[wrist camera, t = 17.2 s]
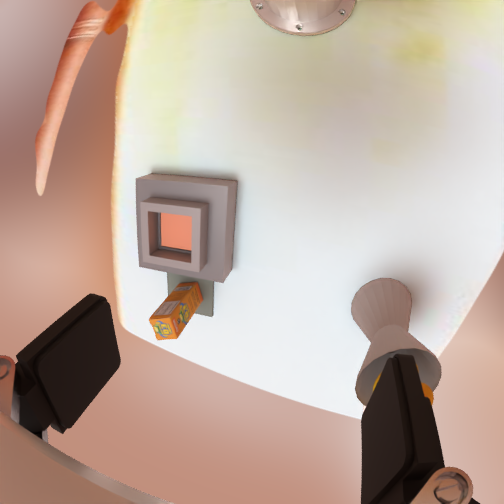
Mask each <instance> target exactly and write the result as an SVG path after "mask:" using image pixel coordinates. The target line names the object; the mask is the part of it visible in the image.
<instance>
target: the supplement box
mask: <svg viewBox="0 0 504 504" xmlns="http://www.w3.org/2000/svg"><path fill="white" fill-rule="evenodd" d="M202 301H203V298H202V294H201V291H200V288H199V285H198V282H190V283H181V284H178V285H177V286H176V288H175V289H174V290H173V291H172V292H171V294H170V295H169V296H168V297H167V298H166V299H165V301H164V302H163V303H162V304H161V305H160V306H159V308H158V309H157V310H156V311H155V312H154V313H153V315H152V316H151V317H150V319H149V321H150V323H151V324H152V327H153V329H154V332H155V334H156V335H155V336H156V339H157V340H164V339H177V338H178V337H179V335H180V334H181V332H182V331H183V329H184V328H185V326H186V325H187V323H188V322H189V320H190V319H191V317H192V316H193V314H194V313H195V311H196V310H197V308H198V307H199V305H200V304H201V302H202Z"/></svg>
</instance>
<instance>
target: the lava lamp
mask: <svg viewBox="0 0 504 504" xmlns="http://www.w3.org/2000/svg"><path fill="white" fill-rule="evenodd" d="M411 305H412V300H411V295H410V292H409V291H408V289H407V287H406V286H405V285H403V284H402V283H401V282H399V281H397V280H394V279H391V278H380V279H376V280H373V281H370V282H369V283H367V284H365V285H364V286H362V287H361V288H360V289H359V291H358V292H357V293H356V294H355V296H354V299H353V301H352V306H351V313H352V316H353V319H354V321H355V322H356V323H357V325H358V326H359V327H360V329H361V330H362V331H363V333H364V334H365V335H366V337H367V338H368V339H369V341H370V342H371V345H370V347H369V350H368V352H367V355H366V357H365V360H364V362H363V364H362V367H361V369H360V371H359V374H358V376H357V381H356V387H355V391H356V394H357V398H358V399H359V400H360V401H361V403H362V404H363V405H364V406H367V404H368V402H369V400H370V397H371V395H372V393H373V391H374V389H375V387H376V384H377V382H378V380H379V378H380V375H381V373H382V371H383V368H384V366H385V364H386V361H387V359H388V358H389V357H390V358H393V356H394V355H395V354H407V355H413V356H414V359H415V362H416V366H417V369H418V373H419V377H420V380H421V384H422V388H423V392H424V396H425V397H428V398H429V399H430V401H431V405H432V404H433V399H434V398H433V391H434V390H435V388H436V387H437V385H438V383H439V381H440V378H441V365H440V363H439V361H438V359H437V358H436V356H435V355H434V354H433V353H432V352H431V351H430V350H428V349H427V348H426V347H425V346H424V345H423V344H421V343H420V342H419V341H418V340H417V339H416V338H414V337H413V336H412V335H411V334H410V333H408V328H409V321H410V313H411Z"/></svg>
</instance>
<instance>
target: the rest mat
mask: <svg viewBox="0 0 504 504" xmlns="http://www.w3.org/2000/svg"><path fill="white" fill-rule="evenodd" d="M167 282H168V296H169V295H170V294H171V292H172V291H173V290H174V289H175V288H176V286H177V285H178V284H181V283H190V282H198V285H199V288H200V291H201V294H202V298H203V301H202V302H201V304H200V305H199V307H198V308H197V310H196V311H195V313H196V314H201V315H205V316H210V317H212V316H213V292H214V281H210V280H205V279H199V278H194V277H189V276H184V275H179V274H174V273H168V272H167Z"/></svg>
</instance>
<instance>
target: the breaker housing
mask: <svg viewBox="0 0 504 504" xmlns="http://www.w3.org/2000/svg"><path fill="white" fill-rule="evenodd" d="M236 194H237V181H233V180H224V179H213V178H203V177H191V176H179V175H165V174H149V175H145V176H142V177H139V178H136V215H137V238H138V254H139V267H144V268H148V269H153V270H158V271H163V272H168V273H174V274H179V275H184V276H189V277H194V278H199V279H205V280H210V281H215V282H221V283H223V282H224V281H225V279H226V278H227V276H228V275H229V273H230V272H231V270H232V258H233V241H234V225H235V209H236ZM161 213H168V214H176V215H184V216H192V246H191V250H185V249H179V248H173V247H167V246H161Z"/></svg>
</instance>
